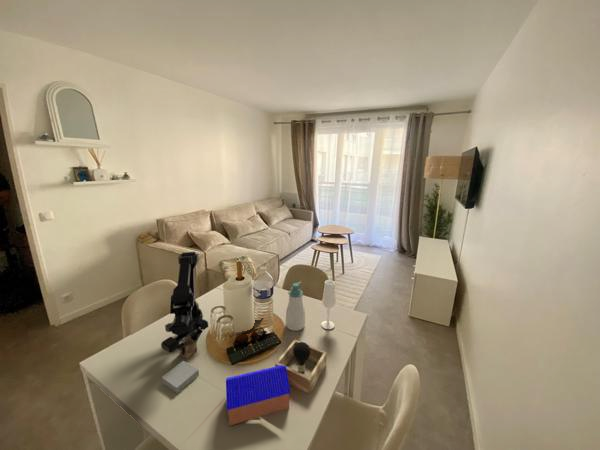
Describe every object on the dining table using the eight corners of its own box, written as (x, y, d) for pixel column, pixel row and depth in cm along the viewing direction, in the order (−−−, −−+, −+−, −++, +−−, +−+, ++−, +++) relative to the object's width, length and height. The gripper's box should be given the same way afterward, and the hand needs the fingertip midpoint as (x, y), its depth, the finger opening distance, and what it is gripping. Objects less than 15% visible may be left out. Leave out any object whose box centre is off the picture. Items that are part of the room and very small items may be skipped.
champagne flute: (330, 331, 119) (332, 286, 113) (318, 325, 123) (320, 282, 117) (336, 324, 124) (339, 281, 118) (325, 319, 128) (327, 277, 122)
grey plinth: (184, 366, 97) (183, 360, 97) (199, 376, 93) (198, 369, 92) (162, 383, 90) (161, 377, 89) (177, 394, 85) (176, 387, 85)
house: (227, 393, 86) (225, 366, 83) (282, 379, 92) (282, 353, 89) (228, 427, 75) (225, 397, 72) (290, 408, 81) (290, 380, 78)
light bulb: (309, 363, 99) (309, 338, 96) (310, 377, 93) (311, 351, 90) (292, 363, 99) (293, 338, 96) (293, 377, 92) (293, 351, 89)
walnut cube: (189, 347, 107) (188, 337, 106) (197, 351, 105) (196, 341, 104) (179, 354, 103) (178, 344, 102) (187, 358, 101) (186, 348, 99)
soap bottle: (308, 324, 123) (309, 284, 118) (296, 334, 116) (296, 291, 111) (294, 317, 129) (295, 278, 124) (281, 325, 122) (281, 284, 117)
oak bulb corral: (294, 351, 106) (294, 339, 104) (326, 364, 99) (326, 352, 97) (275, 376, 93) (274, 363, 91) (309, 394, 86) (310, 380, 84)
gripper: (191, 302, 112) (194, 331, 115) (150, 325, 96) (155, 358, 100) (207, 309, 107) (210, 340, 110) (167, 334, 91) (172, 369, 94)
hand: (188, 350), depth 104 cm, fingers closed on walnut cube, 5 cm apart
